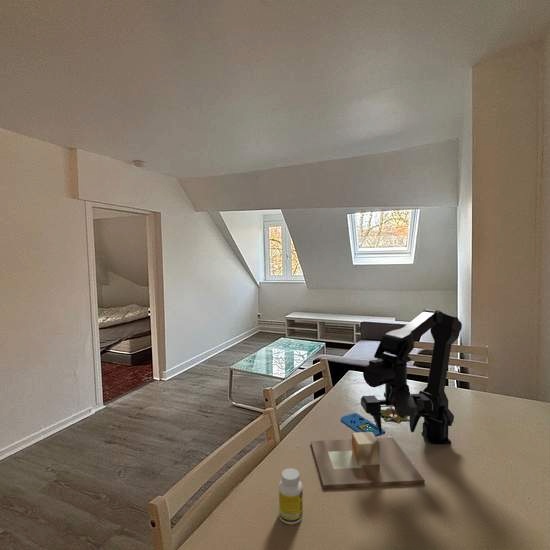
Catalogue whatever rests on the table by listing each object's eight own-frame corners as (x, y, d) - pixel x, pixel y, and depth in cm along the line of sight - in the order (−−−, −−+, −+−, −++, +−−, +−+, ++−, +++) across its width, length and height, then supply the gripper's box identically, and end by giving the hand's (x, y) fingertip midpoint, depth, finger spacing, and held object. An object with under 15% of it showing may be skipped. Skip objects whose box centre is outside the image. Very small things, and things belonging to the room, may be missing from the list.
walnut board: (392, 440, 104) (392, 437, 103) (424, 483, 84) (424, 479, 84) (311, 444, 102) (311, 441, 102) (323, 488, 82) (323, 485, 82)
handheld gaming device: (356, 411, 122) (386, 430, 108) (356, 414, 122) (386, 433, 108) (337, 417, 118) (366, 437, 105) (338, 420, 118) (366, 440, 105)
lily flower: (416, 425, 114) (416, 412, 113) (381, 425, 114) (381, 412, 114) (403, 409, 126) (403, 397, 125) (372, 409, 126) (372, 397, 126)
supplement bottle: (304, 524, 71) (304, 481, 71) (280, 526, 71) (279, 482, 71) (300, 505, 77) (300, 465, 76) (277, 507, 76) (277, 467, 76)
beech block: (372, 431, 96) (351, 432, 96) (379, 443, 90) (358, 444, 90) (372, 451, 96) (352, 452, 96) (379, 464, 90) (358, 465, 90)
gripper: (373, 391, 84) (373, 450, 85) (444, 388, 85) (443, 447, 85) (359, 376, 95) (360, 428, 96) (422, 373, 96) (422, 425, 97)
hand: (396, 432), depth 93 cm, fingers open, 9 cm apart
